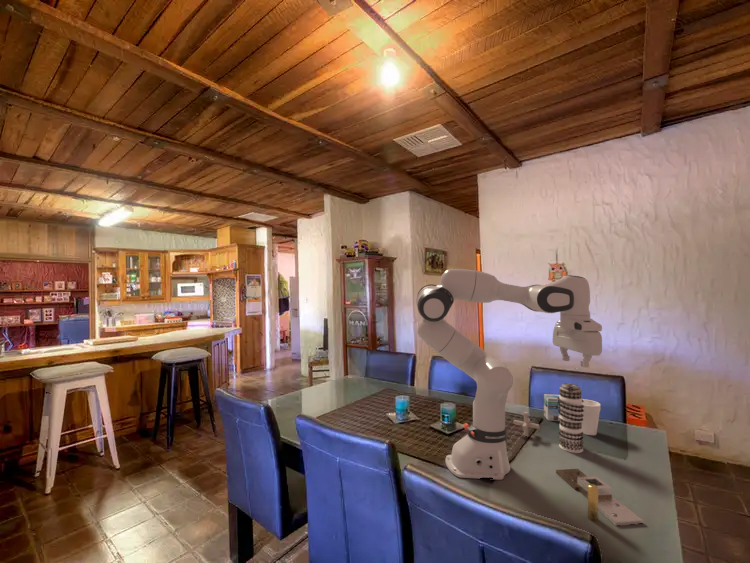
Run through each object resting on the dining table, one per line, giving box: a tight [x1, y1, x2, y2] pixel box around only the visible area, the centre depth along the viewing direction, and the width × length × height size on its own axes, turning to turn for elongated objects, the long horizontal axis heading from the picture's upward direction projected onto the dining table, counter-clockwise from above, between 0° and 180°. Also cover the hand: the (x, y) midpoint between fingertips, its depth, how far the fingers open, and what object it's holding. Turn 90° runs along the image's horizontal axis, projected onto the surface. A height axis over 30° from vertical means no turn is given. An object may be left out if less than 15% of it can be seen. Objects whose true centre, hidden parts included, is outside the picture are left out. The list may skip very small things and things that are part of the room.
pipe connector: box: [513, 411, 540, 438], centre depth 149 cm, size 10×10×10 cm
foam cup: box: [581, 398, 602, 436], centre depth 152 cm, size 10×9×13 cm
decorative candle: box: [557, 383, 584, 454], centre depth 138 cm, size 9×9×25 cm
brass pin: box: [587, 484, 599, 523], centre depth 96 cm, size 2×2×9 cm
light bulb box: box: [543, 393, 560, 422], centre depth 168 cm, size 11×7×11 cm, turn 81°
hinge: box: [555, 468, 644, 527], centre depth 107 cm, size 26×8×4 cm, turn 5°
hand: (574, 363), depth 117 cm, fingers open, 8 cm apart
